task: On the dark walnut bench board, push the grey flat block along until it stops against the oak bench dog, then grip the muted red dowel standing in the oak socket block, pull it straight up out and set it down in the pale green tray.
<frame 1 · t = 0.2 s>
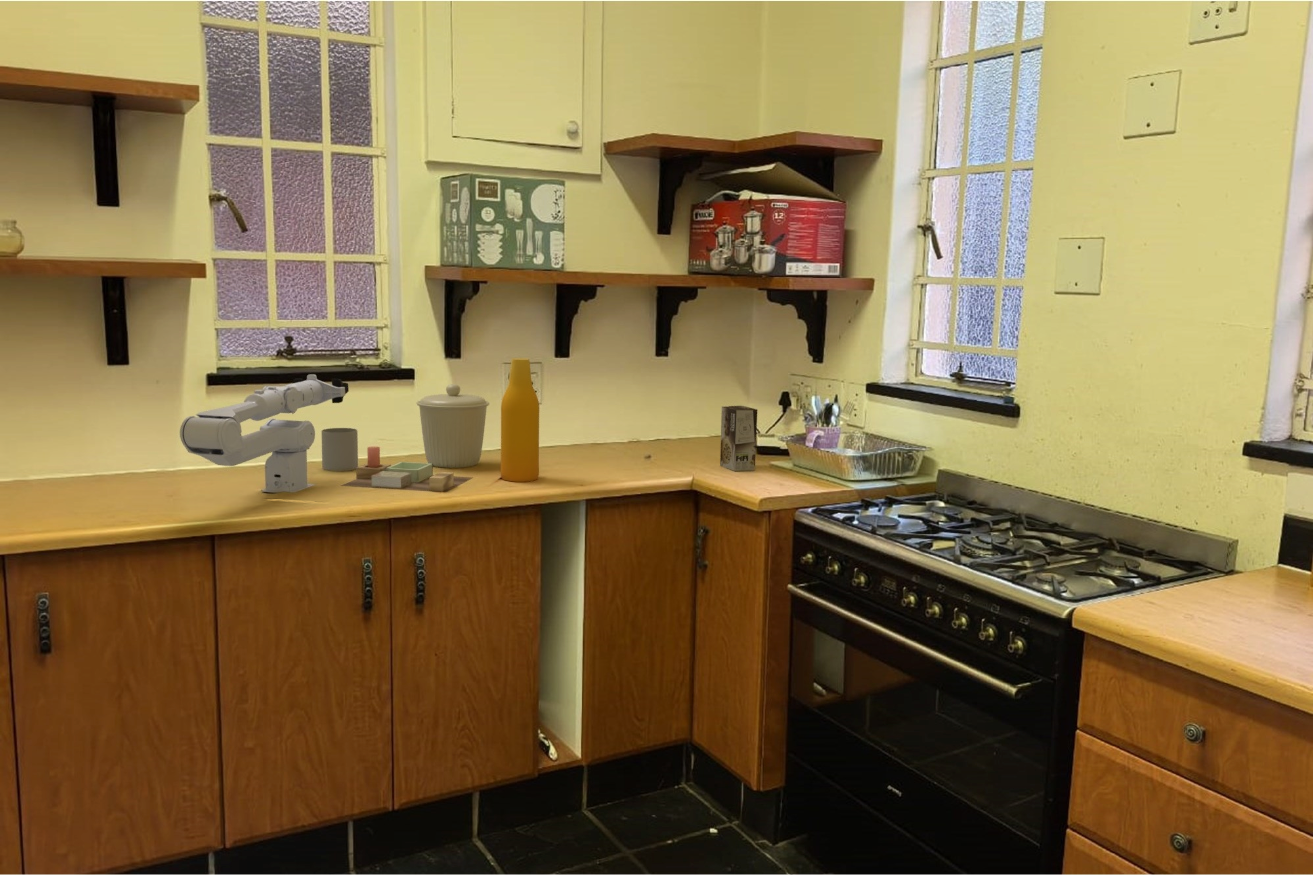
hand: (332, 387, 250), 21 cm above the worktop, tool horizontal, fingers open, 7 cm apart
dowel: (373, 476, 248), point 1 cm above the worktop, touching bench board
coffee box: (737, 468, 275), on the worktop
tray: (409, 477, 247), resting on bench board
cup: (340, 471, 258), on the worktop
grey flat block: (391, 484, 238), point 1 cm above the worktop, touching bench board
beer bottle: (519, 479, 253), on the worktop
bench board: (408, 483, 243), on the worktop
canister: (453, 466, 267), on the worktop
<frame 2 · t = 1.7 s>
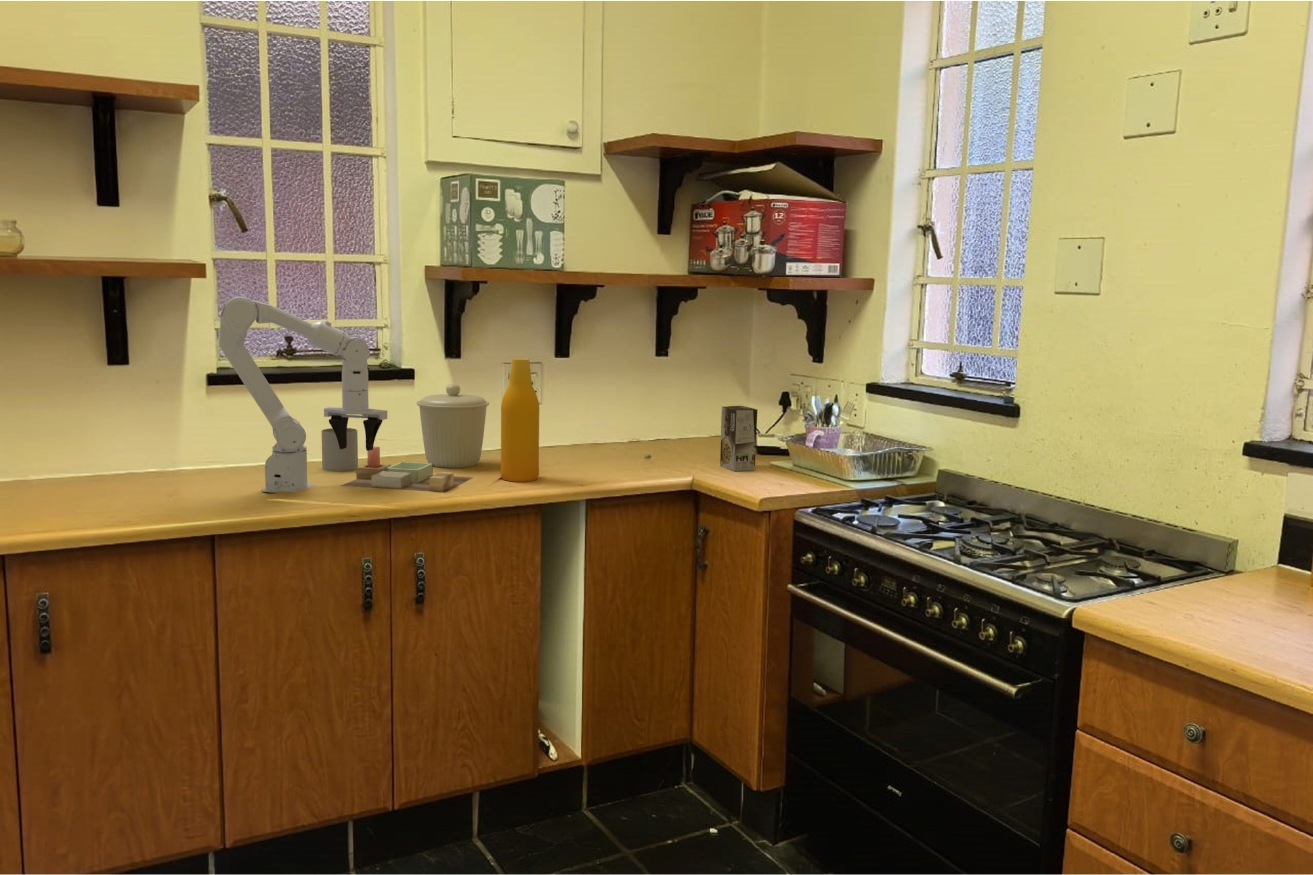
hand: (356, 449, 239), 8 cm above the worktop, tool pointing down, fingers open, 6 cm apart
nothing on the worktop moved.
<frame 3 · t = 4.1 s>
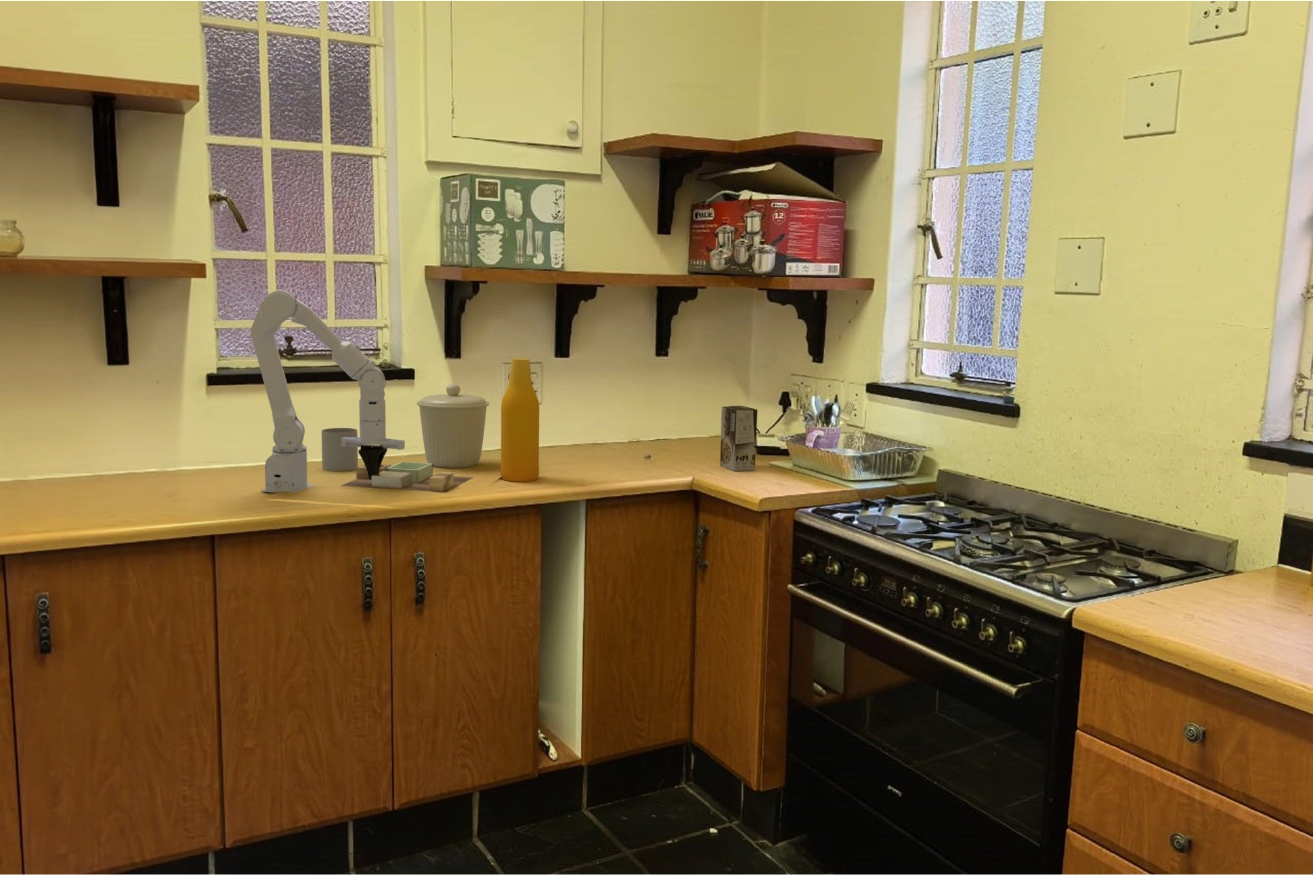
hand: (373, 478, 239), 2 cm above the worktop, tool pointing down, fingers closed
grey flat block: (391, 484, 238), point 1 cm above the worktop, touching bench board, gripper
everything else where it was.
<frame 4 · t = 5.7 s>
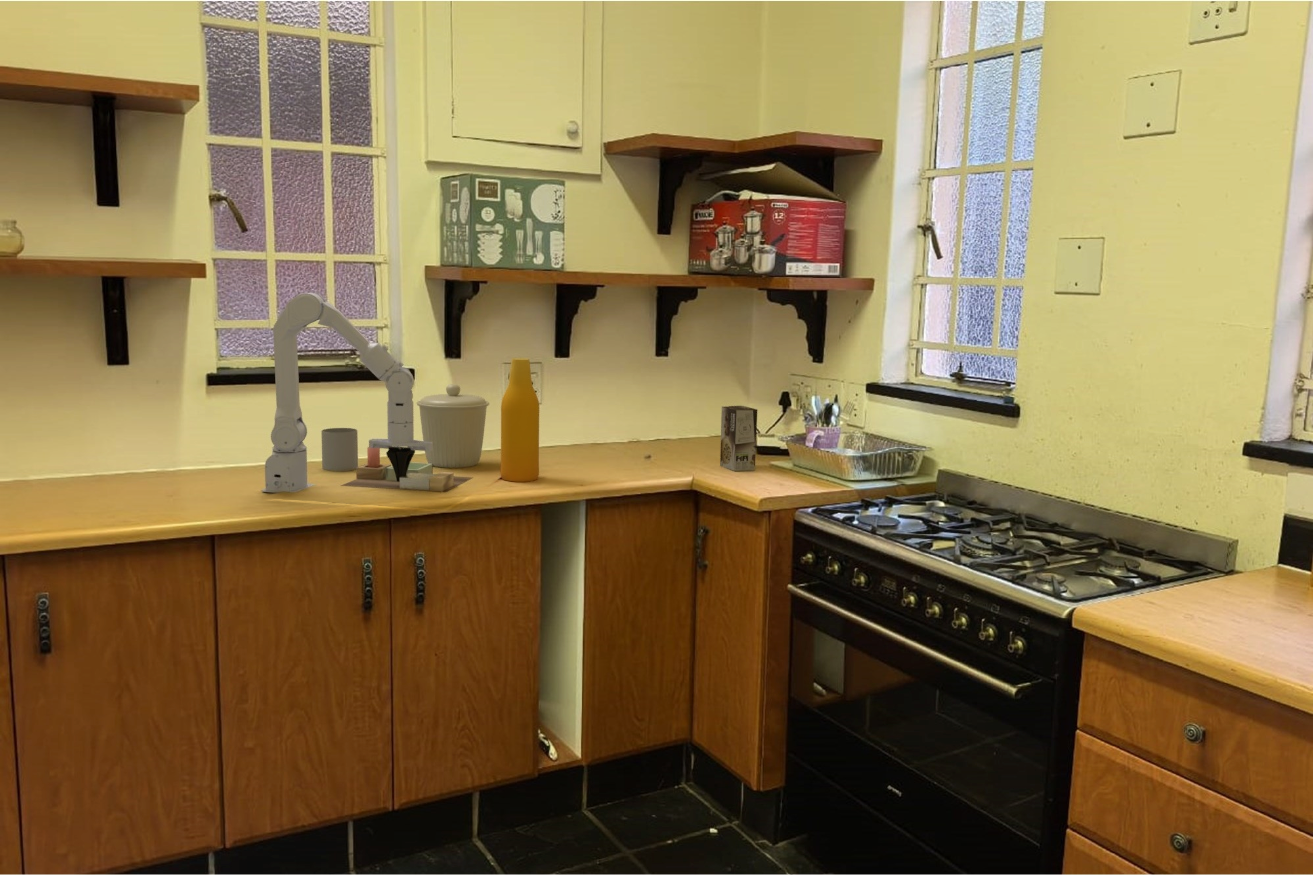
hand: (401, 480, 238), 2 cm above the worktop, tool pointing down, fingers closed
grey flat block: (419, 486, 237), point 1 cm above the worktop, touching bench board, gripper
everything else where it was.
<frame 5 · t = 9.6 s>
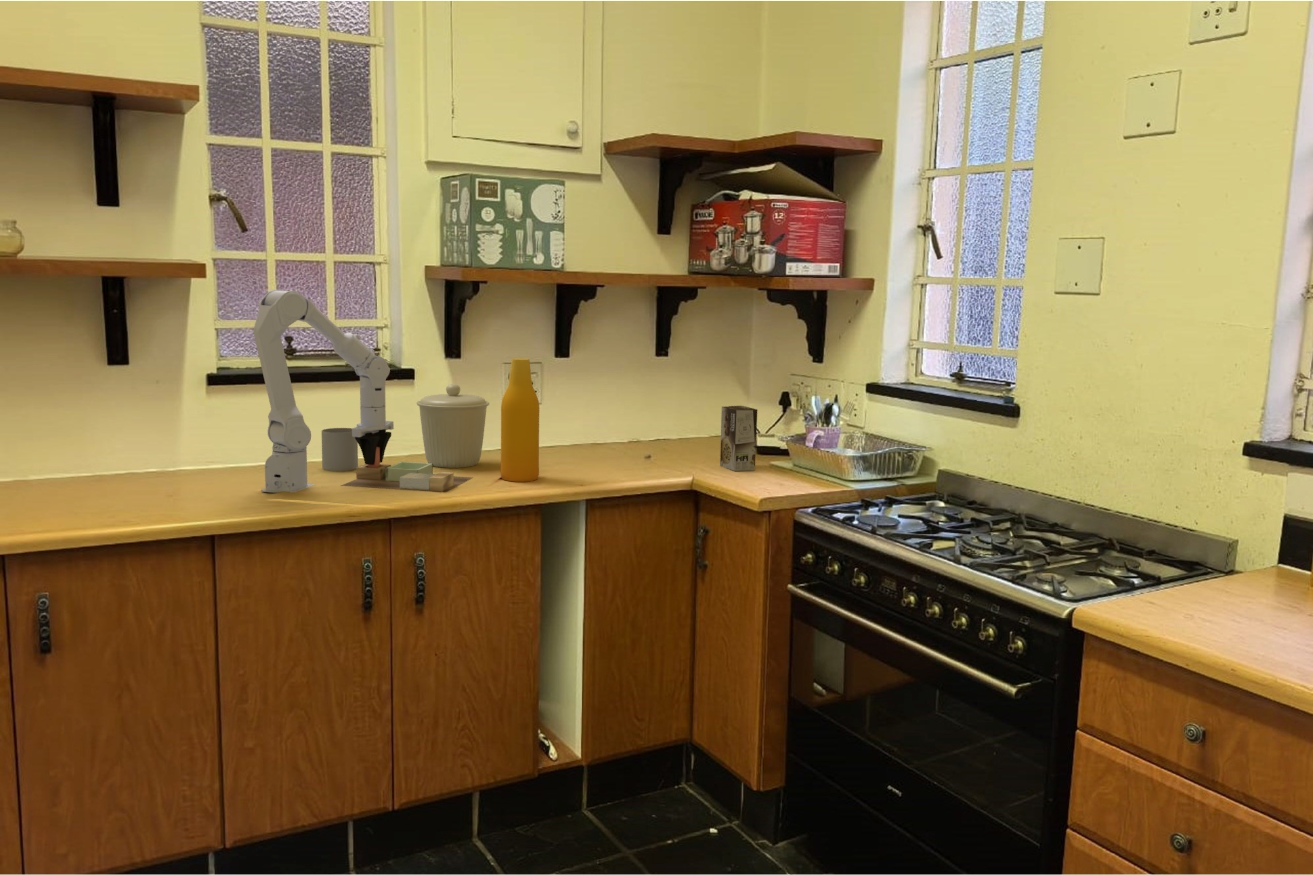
hand: (373, 463, 247), 4 cm above the worktop, tool pointing down, fingers closed on dowel, 3 cm apart
dowel: (373, 476, 248), point 1 cm above the worktop, touching bench board, gripper
grey flat block: (419, 486, 237), point 1 cm above the worktop, touching bench board
everything else where it was.
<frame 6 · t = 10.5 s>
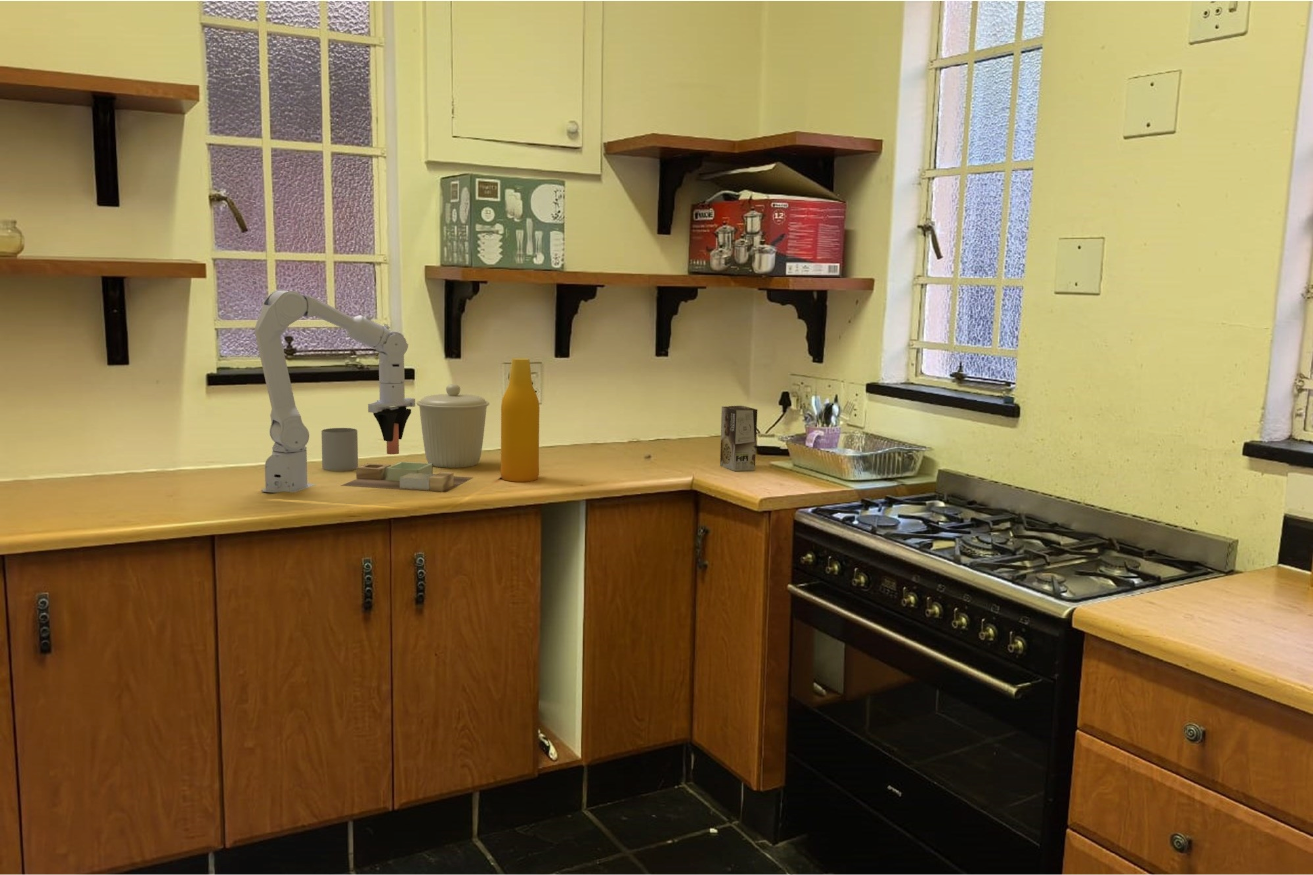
hand: (392, 439, 246), 10 cm above the worktop, tool pointing down, fingers closed on dowel, 3 cm apart
dowel: (392, 453, 247), point 6 cm above the worktop, touching gripper
everything else where it was.
when the fingers open (6 cm above the worktop, at t = 11.7 s): dowel drops 1 cm, resting on tray.
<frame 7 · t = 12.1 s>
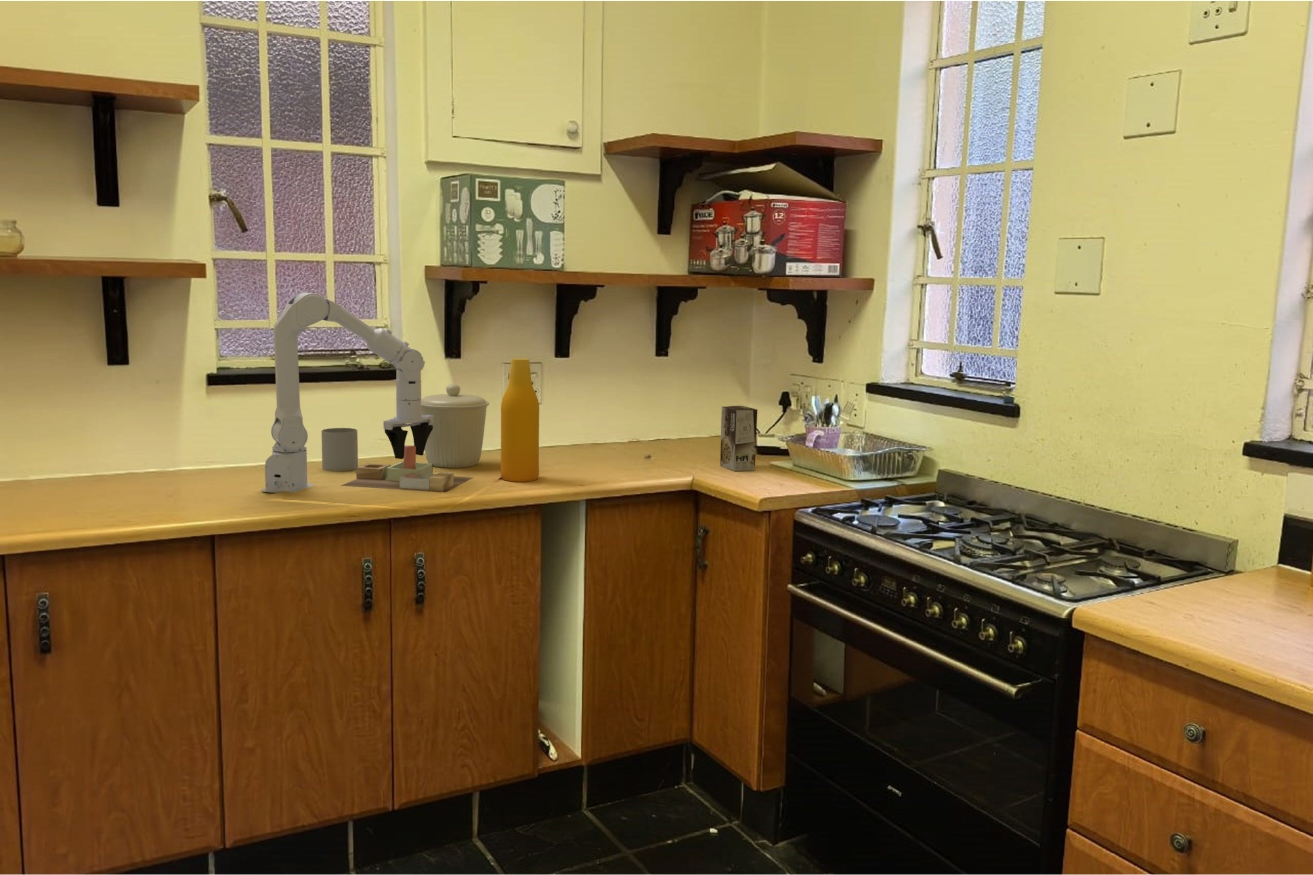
hand: (409, 456, 246), 6 cm above the worktop, tool pointing down, fingers open, 6 cm apart
dowel: (409, 475, 247), point 1 cm above the worktop, touching tray
everything else where it was.
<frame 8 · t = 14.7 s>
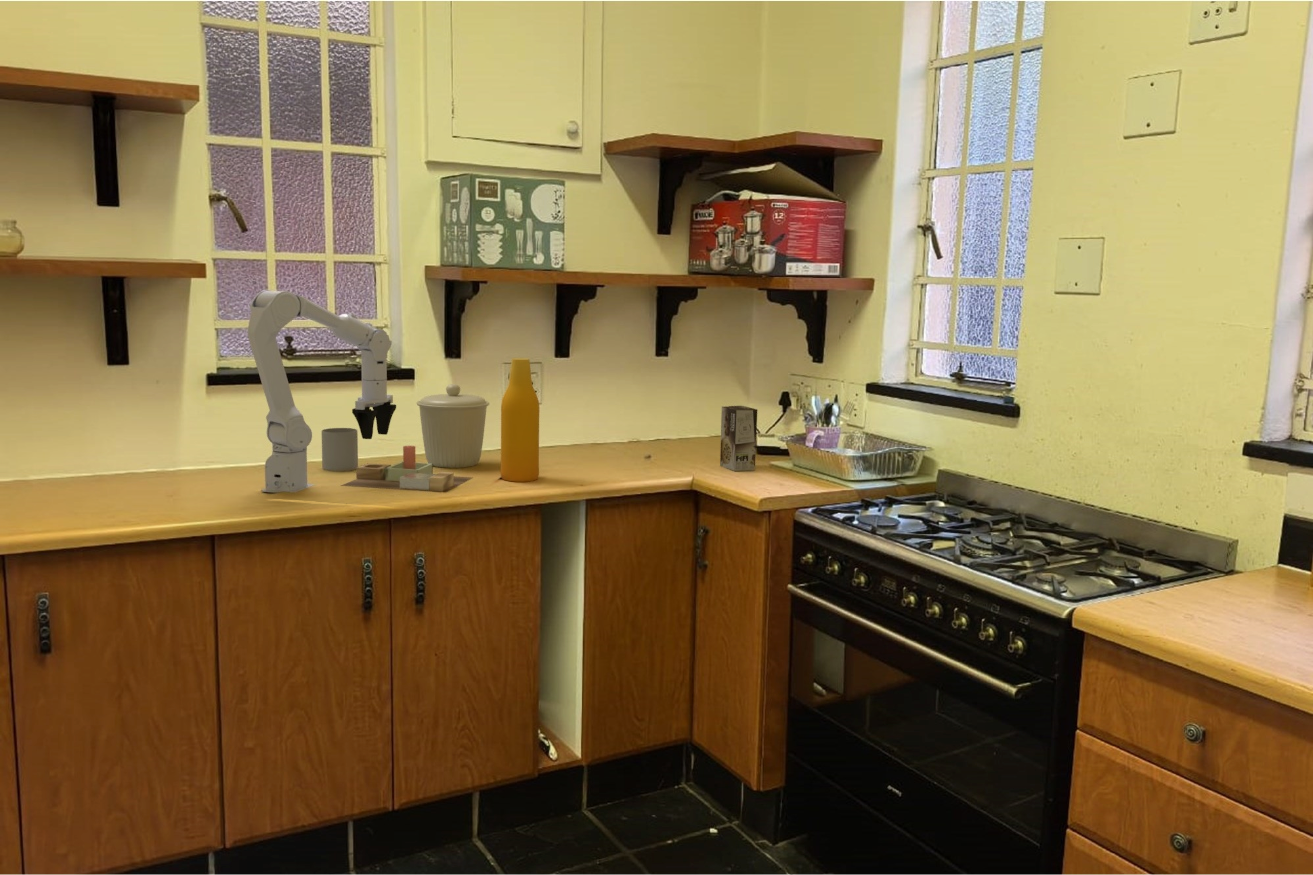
hand: (375, 436, 248), 10 cm above the worktop, tool pointing down, fingers open, 7 cm apart
nothing on the worktop moved.
at the end: grey flat block 0.2 cm from the target spot, point 0.6 cm above the worktop; dowel inside the target area on the tray (0.0 cm from its centre), point 0.5 cm above the tray's base; the gripper is holding nothing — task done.
